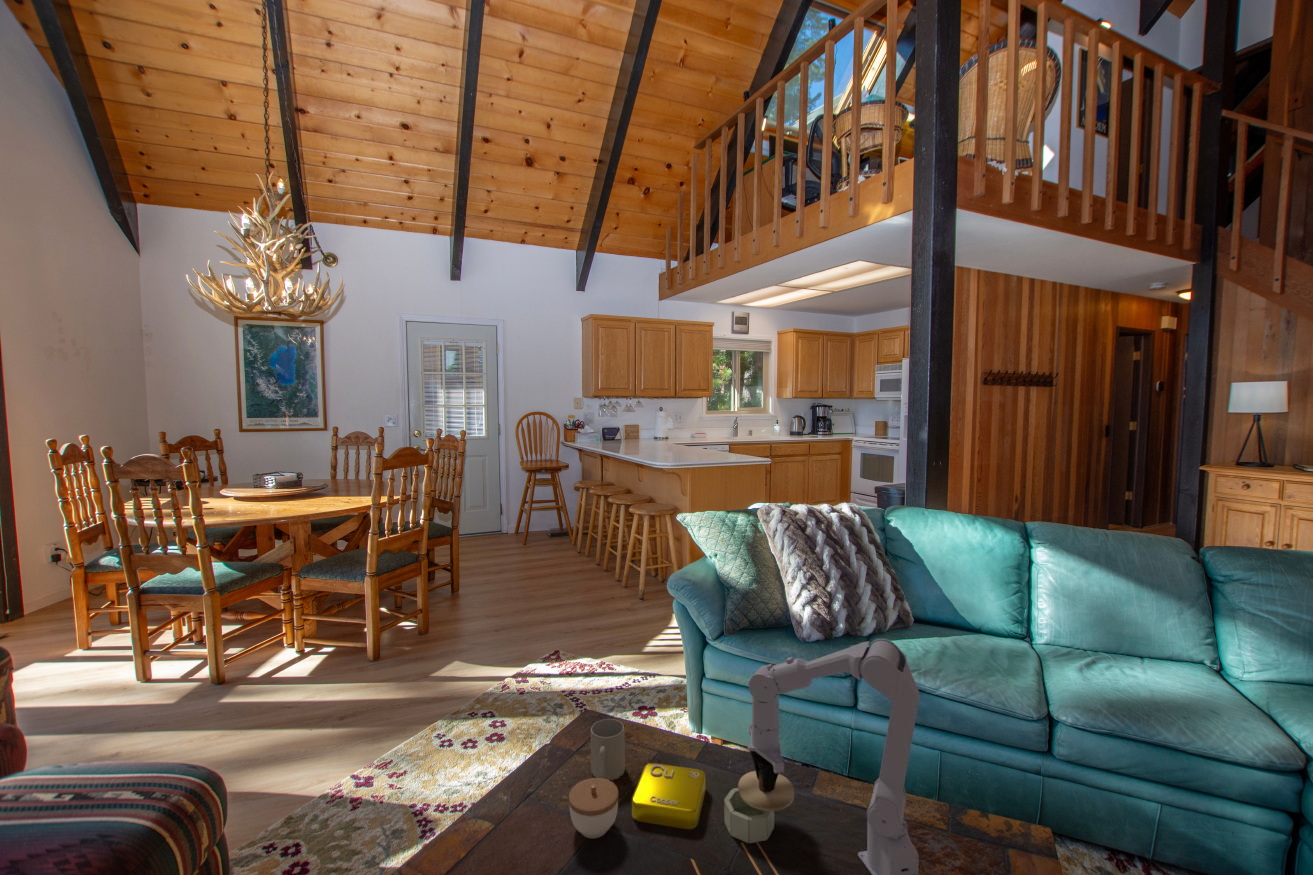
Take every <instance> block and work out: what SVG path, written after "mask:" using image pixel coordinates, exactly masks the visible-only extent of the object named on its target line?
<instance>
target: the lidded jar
mask: <svg viewBox="0 0 1313 875" xmlns="http://www.w3.org/2000/svg"><path fill="white" fill-rule="evenodd" d="M568 803H569V813H570V818H571V823H572V824H573V826H574V827H575V829H576V830H577V831H578V832H579V833H580V834H581V835H582V836H583V837H585V838H588V839H598V838H601V837H603V836H604V835H606V833H607V832H608V831H609V830H610V829H611V827H612V826H613V824H614V823H615V821H616V818H617V814H618V808H619V788H618V786H617V785H616V784H615V783H614V782H613V781H612V780H611V781H609V780H607V779H604V778H595V777H591V778H586V779H584V780H581V781H578V782H577V783H576V784H575V785H573V787H572V788H571V789H570V791H569V794H568Z"/></svg>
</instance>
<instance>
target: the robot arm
mask: <svg viewBox="0 0 1313 875" xmlns="http://www.w3.org/2000/svg"><path fill="white" fill-rule="evenodd" d="M842 673H843V674H844V673H849V674H850V675H851V676H852V677H854V678H856V679H857V680H858V681H861V679H862V678H863V680H864V681H865V682H866V684H868V685H869V686H870V687H872V688H873V689H874V690H876V691H877V692H879V693H880V694H881V695H883V696H885V697H886V699H888V701H890V703H891V708H890V713H889V719H888V720H889V721H888V724H887V725H888V726H887V732H886V738H885V742H884V747H883V748H884V749H883V753H882V758H881V759H882V760H881V766H880V771H879V776H878V778H877V779H876V780H875V782H874V785H873V789H872V790H873V791H872V794H871V798H870V803H869V806H868V807H867V810H866V819H867V823H866V824H867V832H866V834H867V835H866V836H867V837H866V838H867V840H866V841H867V842H866V843H867V844H866V845H867V850H863V851H859V852H857V856H858V857H859V859H860V861H862V863H863V864H864V866H865V868H867V870H868V872H869V873H870V874H871V875H919V866H920V865H919V864H920V862H919V859H920V858H919V852H918V850H917V849H916V847H915V846H914V844H913V843H912V841H911V839H910V835H909V832H908V824H907V821H906V818H905V816H904V813H905V808H906V804H907V801H908V796H907V791H906V789H905V780H906V776H907V769H908V763H909V759H910V754H911V747H912V742H913V737H914V731H915V724H916V720H917V715H918V710H919V704H920V698H921V697H920V693H921V692H920V691H919V688H918V685H917V683H916V681H915V678H914V676H913V674H912V671H911V670H910V667H909V664H908V659H907V655H906V654H905V653H904V652H903V651H902V650H901V649H900V647H898V646H897V644H895V643H894V642H893V641H891V640H889V639H886V638H877V639H876V638H875V639H874V640H872V642H870V641H862V642H860V643H858V644H854V645H852V646H850V647H849V646H848V647H847V648H844V649H841V650H838V651H835V652H833V653H829V654H827V655H824V656H821V657H818V658H815V659H812V660H809V661H807V660H806V659H804V658H801V657H798V658H794V657H793V656H789V657H787V658H786V660H785V661H784V662H781V663H780V662H779V663H777V664H773V663H769V664H767V665H765V664H764V665H761V666H759V668H758V669H757V670H756V671H755V672H754V674H753V675H752V676H751V678H750V679H749V681H748V690H749V694H750V695H751V696H752V702H751V705H752V706H751V709H752V710H751V714H752V716H751V717H752V718H751V722H752V723H751V725H750V724H749V725H748V735H749V736H750V742H748V743H746V747H747V749H748V751H749V753H750V755H751V759H752V761H753V766H754V771H756V775H757V779H758V780H759V770H760V771H761V775H762V783H763V788H764V790H765V791H771V790H774V787H775V784H776V780H777V777H778V774H782V773H785V760H784V759H783V756H782V751H781V744H780V700H779V699H780V697H779V696H780V695H781V694H786V693H790V692H793V691H797V690H801V689H804V688H809V687H810V686H811V685H812V682H813V680H814V679H818V678H825V677H827V676H833V675H838V674H842Z"/></svg>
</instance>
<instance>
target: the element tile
mask: <svg viewBox="0 0 1313 875" xmlns="http://www.w3.org/2000/svg"><path fill="white" fill-rule="evenodd" d="M706 791H707V789H706V773H705V772H704V771H703V770H701V769H698V768H693V767H691V768H690V767H685V766H677V765H669V764H664V763H656V762H655V763H654V762H651V763H650V762H649V763H647V764H646V765H645V766H643V770H642V771H641V775H640V777H639V780H638V782H637V784H636V787H635V789H634V791H633V794H632V796H631V816H632V818H633V820H635V821H637V822H643V823H648V824H654V825H659V826H666V827H672V828H679V829H684V830H693V829H695V828H696V827H697V826H698V825H699V821H700V816H701V812H702V808H703V802H704V799H705V795H706Z"/></svg>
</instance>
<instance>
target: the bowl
mask: <svg viewBox="0 0 1313 875" xmlns="http://www.w3.org/2000/svg"><path fill="white" fill-rule="evenodd" d="M723 800H724V801H723V803H724V809H723V812H724V813H723V814H724V816H723V817H724V818H723V819H724V820H723V821H724V824H725V826H726V828H727V831H728V832H729V836H731V837H733V838H735V839H738V840H740V841H743V842H745V843H747V844H753V843H758V842H763V841H767V840H769V837H771V835H772V833H773V830H774V829H775V811H762V810H758V809H755V808H753V807H751V806H749V805H748V804H746V803H745V802H744V801H743V800H742V799H741V797H740V795H739V792H738V787H736V788H735V787H734V788H732V789H731V790H729V792H728V794H727V795H726V796H725V797H724V799H723Z"/></svg>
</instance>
